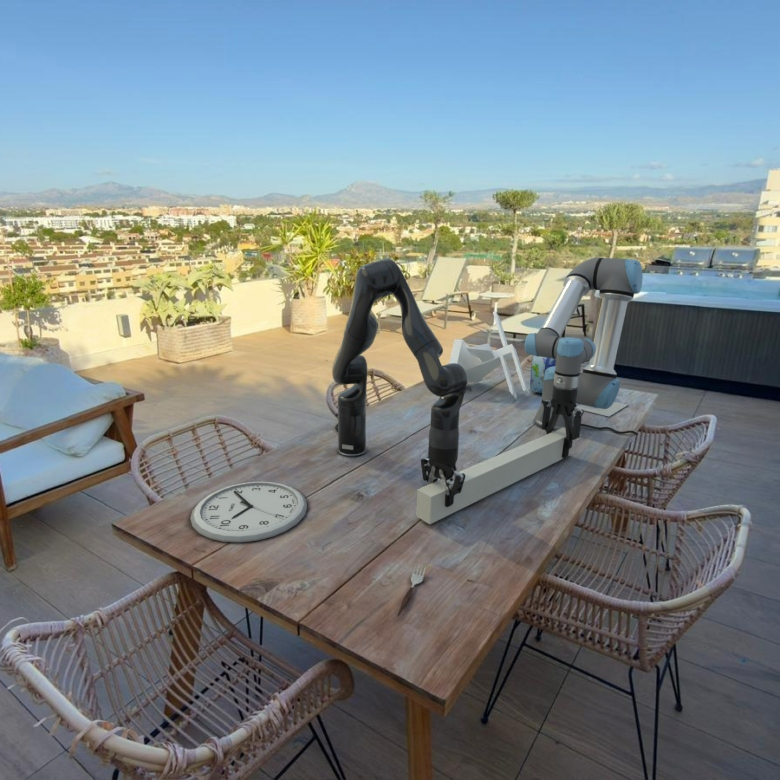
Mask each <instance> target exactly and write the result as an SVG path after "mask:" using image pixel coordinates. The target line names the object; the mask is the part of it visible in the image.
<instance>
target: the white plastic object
mask: <svg viewBox="0 0 780 780" xmlns="http://www.w3.org/2000/svg"><path fill="white" fill-rule="evenodd" d="M492 315H493V319H494V321H495V324H496V325H495V326H496V328H497V332H498V335H499V338H500V342H501V345H502V347H500V348H498V349H496V350H495V349H493V348H492V347H491V346H490V344H489V343H488V342H487V343H483V344H479V345H473V346H469V345H468V343H466V342H465V340H464V339H463V338H460V339H458V338H454V340H453V344H452V349H451V353H450V357H449V362H448V364H450V363H457V364H459V365H461V366H462V367H463V368H464V370H465V372H466V375H467V384H469V383H473V384H477V383H480V382H482V381H484V378H485V377H486V376H487V375H489V374H490V373H492V372H494V371H495V370H496V369H497V368H499V367H500V366H502V370H503V373H504V376H505V380H506V383H507V386H508V390H509V393H510V394H511V395H512V397H513V398H514V399H515V400H517V392H516V391H517V390H516V388H515V385H514V381H513V378H512V375H511V371H510V369H509V365H508V361H510V360H513V363H514V366H515V369H516V372H517V376H518V380H519V382H520V385H521V389H522V391H523V393H524V395H525V396H526V397H528V396H531V395H530V389H529V388H528V387H529V386H528V384H527V381H526V378H525V375H524V371H523V369H522V368H523V367H522V366H521V362H520V359H519V355H518V352H517V349H516V347H515V346H514V345H513V343H511V344H508V341H507V337H506V334H505V331H504V328H503V325H502V321H501V318H500V315H499V314H498V312H497V311H496V310H495V311H492Z"/></svg>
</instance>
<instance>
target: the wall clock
mask: <svg viewBox="0 0 780 780" xmlns="http://www.w3.org/2000/svg"><path fill="white" fill-rule="evenodd" d="M307 503H308V502H307V499H306V498H305V496H304V495H303V493H301V492H300V491H298V490H297V489H295V488H294V487H291V486H289V485H286V484H283V483H280V482H279V483H278V482H272V481H249V482H248V481H247V482H242V483H238V484H232V485H229V486H226V487H223V488H220V489H218V490H216V491H213V492H211V493H210V494H208V495H207V496H205V497H204V498H202V499H201V500H200V501H199V502H198V503H197V504H196V505H195V507H194V508H193V509H192V511H191V515H190V523H191V526H192V528H193V529H194V531H196V532H197V533H198V534H199V535H201V536H203V537H205V538H208V539H210V540H214V541H218V542H222V543H239V544H240V543H249V542H256V541H262V540H265V539H269V538H274V537H276V536H278V535H280V534H282V533H286V532H287V531H289V530H290V529H292V528H293V527H295V526H296V525H298V524H299V523H300V522H301V521H302V519H303V518H304V517H305V516H306V513H307V510H308V504H307Z"/></svg>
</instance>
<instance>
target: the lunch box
mask: <svg viewBox="0 0 780 780" xmlns="http://www.w3.org/2000/svg"><path fill="white" fill-rule="evenodd" d="M553 366H556V359H552V358H546V357H539V356H538V357H537V356H534V355H533V357H532V359H531V366H530V379H529V391H531V392H532V393H537V394H542V391H543V381H544V380H543V379H544V375H545V371H546V369H548V368H550V367H553Z"/></svg>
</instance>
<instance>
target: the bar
mask: <svg viewBox="0 0 780 780" xmlns="http://www.w3.org/2000/svg"><path fill="white" fill-rule="evenodd" d="M565 438H566V429H565V428H561V429H559V430H556V431H552V432H551V433H549V434H547V435H546V434H545V435H542V436H540V437H537V438H535V439H532V440H530V441H528V442H526V443H524V444H521V445H518V446H515V447H514V448H511V449H509V450H507V451H504V452H502V453H500V454H498V455H495V456H492V457H491V458H488V459H486V460H483V461H481V462H479V463H476V464H474V465H472V466H469V467H466V468H464V469H462V470H460V471H458V472H459V473H460V474H462V473H464V474H465V480H464V483H463V487H462V490H461V493H458V494H456V495H454V503H453V505H451V506H449V507H446V506H445V494H446V491H445V487H444V486H443V484H442V480H441V479H438V481H436V482H434V483H431V484H429V485H428V484H427V485H424V486H422V487H420V488H417V489H416V491H417V492H416V513H415V514H416V515H415V516H416V518H418V519H420V520H421V521H423V522H425V523H427V524H428V525H432V524H434V523H437V522H438V521H439V520H442V519H444V518H446V517H448V516H450V515H452V514H454V513H457V512H458V511H460V510H462V509H464V508H466V507H468V506H470V505H472V504H474V503H476V502H478V501H480V500H482V499H485V498H486V497H488V496H490V495H493V494H494V493H497V492H499V491H501V490H503V489H505V488H507V487H509V486H511V485H513V484H515V483H517V482H519V481H521V480H523V479H525V478H528V477H529V476H531V475H533V474H535V473H537V472H539V471H540V470H543V469H545V468H548V467H550V466H551V465H553V464H555V463H557V462H560V461H561V460H564V458H562V452H563V444H564V439H565ZM576 440H577V439H575V440H573V442H572V447H571V448H570V449H569V455H568V456H567V457H566V458H568V457H569V456H571V455H573V454H574V453H575V446H576ZM449 480H450V479H449ZM449 480H447V482H448V481H449ZM449 488H450V485H449ZM450 489H451V488H450Z"/></svg>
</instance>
